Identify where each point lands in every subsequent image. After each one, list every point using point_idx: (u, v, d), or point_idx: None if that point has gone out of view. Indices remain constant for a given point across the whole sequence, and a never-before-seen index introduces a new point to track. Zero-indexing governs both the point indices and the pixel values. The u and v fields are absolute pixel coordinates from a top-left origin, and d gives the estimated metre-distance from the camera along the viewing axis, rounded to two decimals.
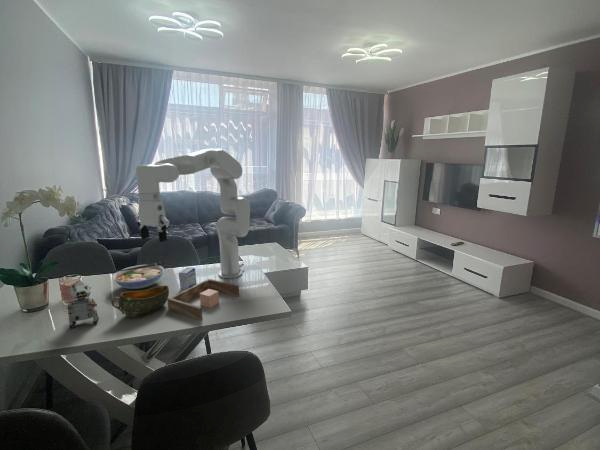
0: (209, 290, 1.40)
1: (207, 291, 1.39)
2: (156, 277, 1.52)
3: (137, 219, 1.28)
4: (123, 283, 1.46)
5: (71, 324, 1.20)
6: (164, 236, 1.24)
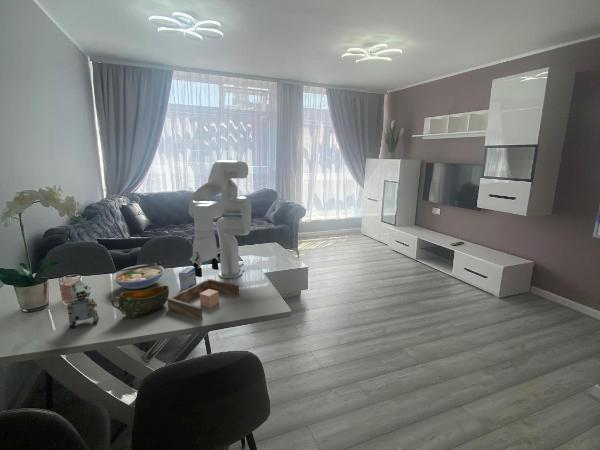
0: (209, 290, 1.40)
1: (207, 291, 1.39)
2: (156, 277, 1.52)
3: (193, 260, 1.27)
4: (123, 283, 1.46)
5: (71, 324, 1.20)
6: None
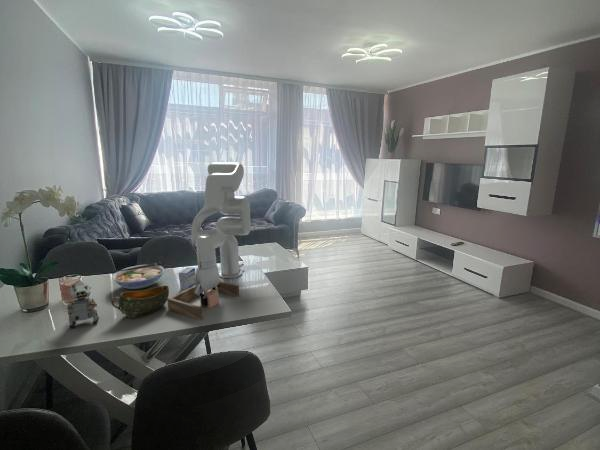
0: (209, 290, 1.40)
1: (207, 291, 1.39)
2: (156, 277, 1.52)
3: (198, 292, 1.32)
4: (123, 283, 1.46)
5: (71, 324, 1.20)
6: None
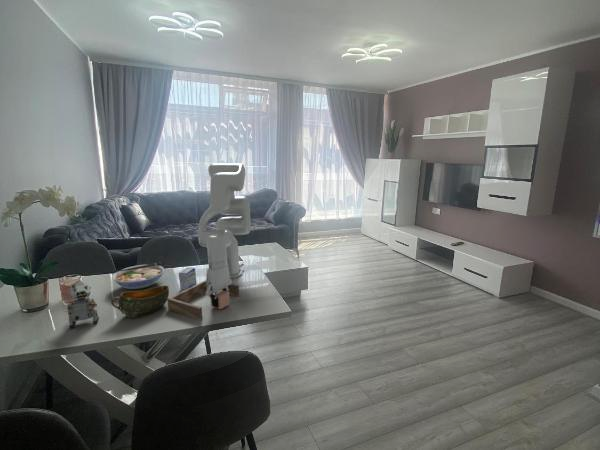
0: (219, 291, 1.37)
1: None
2: (156, 277, 1.52)
3: (209, 293, 1.29)
4: (123, 283, 1.46)
5: (71, 324, 1.20)
6: None
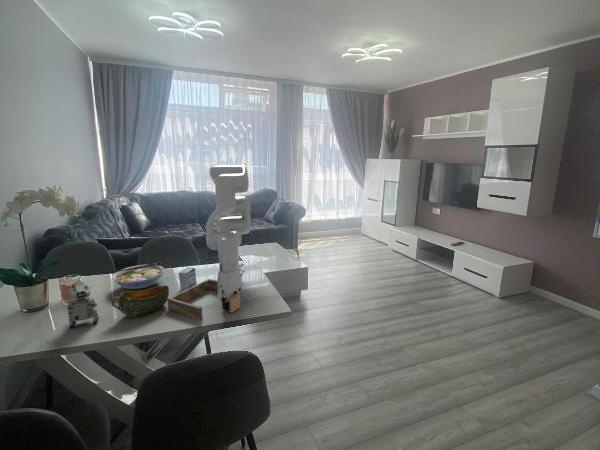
0: None
1: None
2: (156, 277, 1.52)
3: (220, 296, 1.26)
4: (123, 283, 1.46)
5: (71, 324, 1.20)
6: None
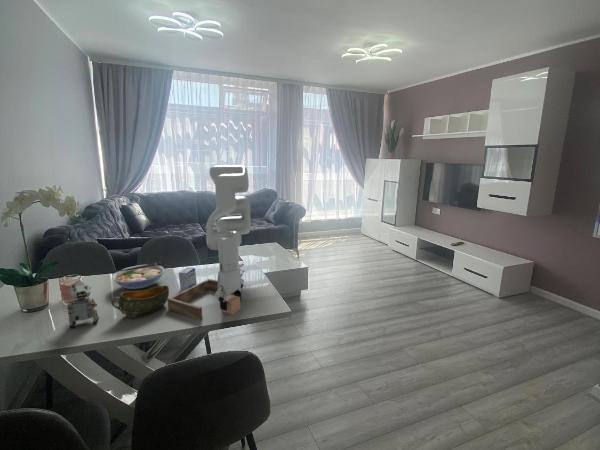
0: (230, 296, 1.35)
1: (228, 297, 1.34)
2: (156, 277, 1.52)
3: (218, 295, 1.25)
4: (123, 283, 1.46)
5: (71, 324, 1.20)
6: None
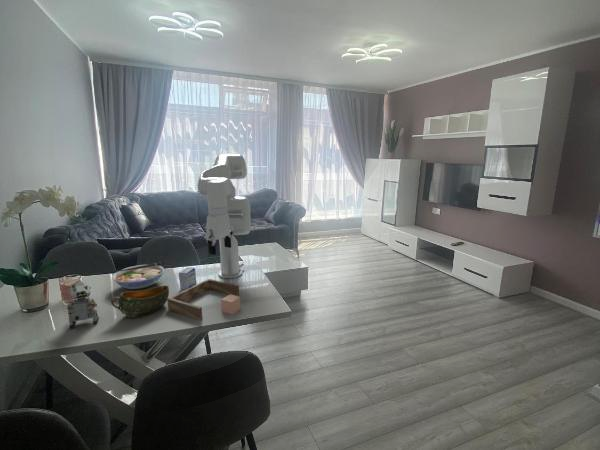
0: (230, 296, 1.35)
1: (228, 297, 1.34)
2: (156, 277, 1.52)
3: (207, 238, 1.26)
4: (123, 283, 1.46)
5: (71, 324, 1.20)
6: None
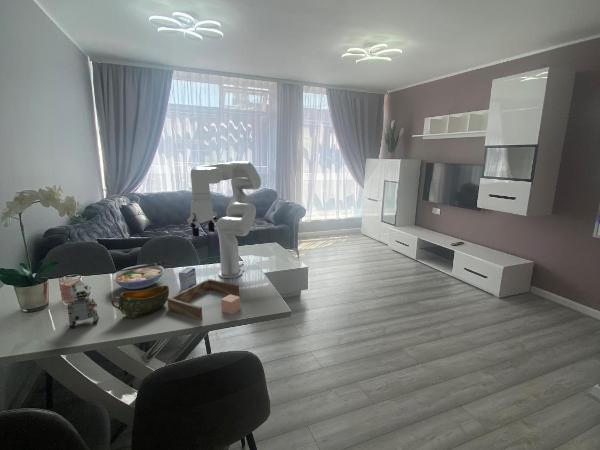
0: (230, 296, 1.35)
1: (228, 297, 1.34)
2: (156, 277, 1.52)
3: (191, 220, 1.36)
4: (123, 283, 1.46)
5: (71, 324, 1.20)
6: None
